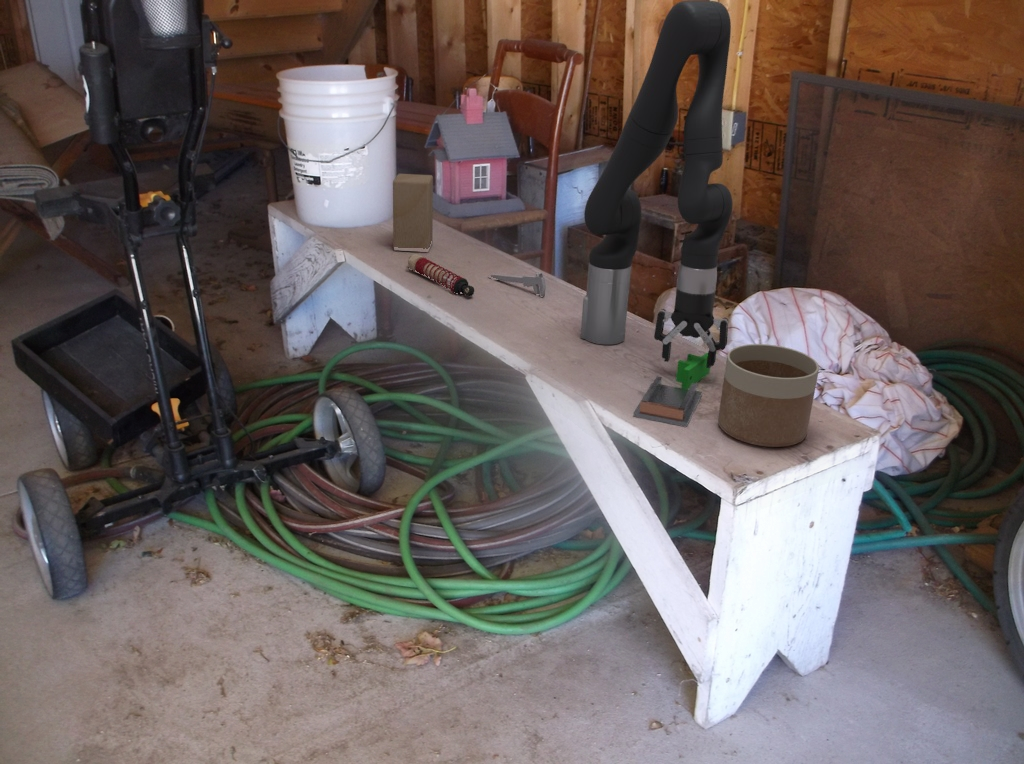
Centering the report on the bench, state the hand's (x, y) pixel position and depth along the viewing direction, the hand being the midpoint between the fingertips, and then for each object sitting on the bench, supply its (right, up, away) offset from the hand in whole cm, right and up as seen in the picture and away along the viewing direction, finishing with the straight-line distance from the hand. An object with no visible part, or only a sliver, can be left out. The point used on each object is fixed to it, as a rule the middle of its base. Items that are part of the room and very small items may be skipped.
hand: (687, 363), depth 192 cm
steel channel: (-6, -8, -11) cm, 15 cm away
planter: (+10, -13, -19) cm, 25 cm away
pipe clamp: (+1, -3, +1) cm, 4 cm away
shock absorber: (-54, +21, +51) cm, 78 cm away
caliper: (-35, +20, +51) cm, 65 cm away
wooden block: (-64, +35, +79) cm, 108 cm away
